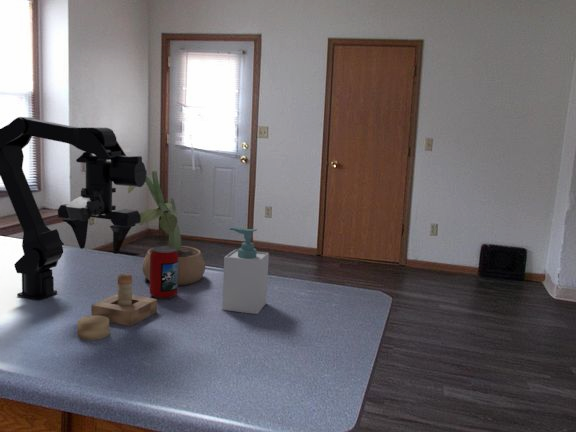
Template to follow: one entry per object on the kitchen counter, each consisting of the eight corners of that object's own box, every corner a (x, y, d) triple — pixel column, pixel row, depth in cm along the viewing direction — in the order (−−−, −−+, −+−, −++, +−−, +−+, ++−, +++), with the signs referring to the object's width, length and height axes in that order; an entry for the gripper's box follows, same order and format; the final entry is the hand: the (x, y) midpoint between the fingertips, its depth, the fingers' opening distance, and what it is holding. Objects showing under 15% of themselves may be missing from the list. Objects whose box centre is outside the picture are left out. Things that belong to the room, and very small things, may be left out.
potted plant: (174, 266, 167) (177, 165, 162) (217, 279, 156) (221, 171, 151) (109, 280, 149) (109, 167, 144) (152, 296, 138) (154, 175, 133)
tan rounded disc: (71, 337, 111) (70, 322, 110) (90, 327, 117) (90, 313, 116) (96, 342, 109) (96, 328, 109) (115, 332, 115) (115, 318, 114)
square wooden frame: (91, 318, 121) (91, 305, 121) (119, 305, 131) (119, 292, 130) (130, 326, 118) (131, 312, 118) (156, 311, 127) (157, 299, 127)
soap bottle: (232, 299, 140) (235, 223, 136) (266, 303, 138) (270, 227, 135) (221, 310, 131) (224, 230, 128) (257, 314, 130) (261, 233, 126)
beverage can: (170, 301, 135) (171, 252, 133) (144, 297, 137) (145, 250, 135) (181, 293, 142) (182, 247, 140) (156, 290, 143) (157, 244, 141)
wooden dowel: (114, 316, 123) (114, 276, 122) (122, 312, 126) (123, 273, 125) (126, 318, 122) (126, 278, 121) (134, 314, 125) (134, 275, 124)
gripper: (39, 182, 122) (40, 252, 124) (111, 190, 116) (111, 264, 119) (74, 178, 132) (74, 243, 135) (142, 186, 126) (141, 253, 129)
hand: (98, 250), depth 129 cm, fingers open, 9 cm apart
